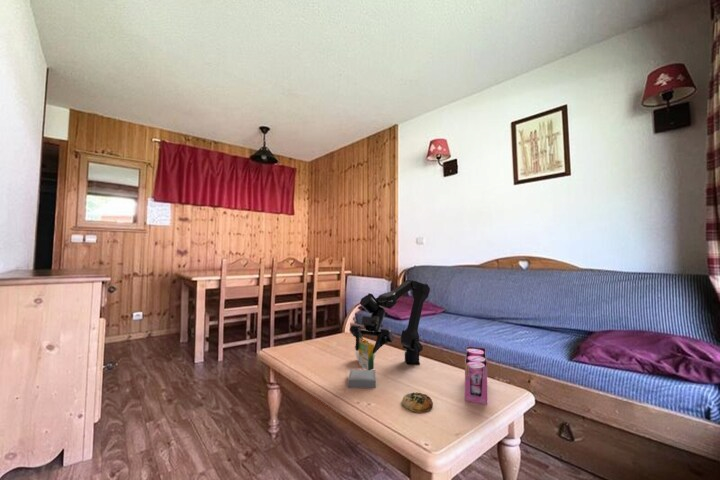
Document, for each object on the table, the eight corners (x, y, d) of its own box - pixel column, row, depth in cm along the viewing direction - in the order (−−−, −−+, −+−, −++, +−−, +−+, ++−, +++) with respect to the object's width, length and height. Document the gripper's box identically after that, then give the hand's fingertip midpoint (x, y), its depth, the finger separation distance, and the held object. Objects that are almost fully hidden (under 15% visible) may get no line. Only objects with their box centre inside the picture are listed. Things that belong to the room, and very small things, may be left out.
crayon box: (374, 369, 125) (374, 340, 125) (367, 370, 123) (367, 341, 124) (364, 363, 131) (364, 336, 131) (358, 364, 129) (358, 337, 130)
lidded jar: (377, 365, 146) (377, 345, 147) (354, 365, 147) (354, 345, 147) (376, 358, 157) (376, 339, 158) (355, 357, 157) (355, 339, 158)
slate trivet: (375, 376, 133) (375, 369, 133) (375, 388, 122) (375, 380, 122) (350, 376, 134) (350, 369, 134) (348, 387, 123) (348, 379, 123)
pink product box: (488, 406, 108) (487, 367, 109) (464, 402, 111) (464, 364, 111) (486, 380, 130) (485, 348, 131) (466, 377, 133) (466, 346, 134)
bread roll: (437, 402, 111) (436, 388, 111) (427, 421, 101) (426, 406, 101) (408, 396, 117) (407, 383, 116) (396, 413, 107) (395, 399, 107)
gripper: (351, 306, 136) (338, 338, 126) (390, 310, 127) (379, 344, 117) (360, 320, 142) (347, 351, 132) (397, 325, 133) (387, 359, 123)
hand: (364, 351), depth 126 cm, fingers closed on crayon box, 7 cm apart
